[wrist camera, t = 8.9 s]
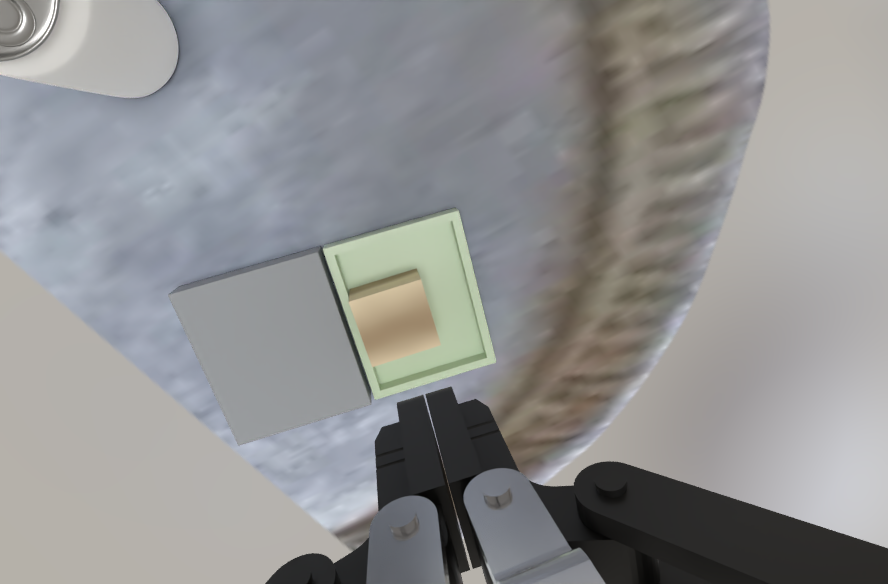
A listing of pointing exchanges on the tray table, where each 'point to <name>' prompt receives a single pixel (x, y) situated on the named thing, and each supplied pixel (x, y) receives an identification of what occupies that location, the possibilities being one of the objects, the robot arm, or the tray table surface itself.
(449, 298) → the box
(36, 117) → the tray table surface
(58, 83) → the can
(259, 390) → the plate
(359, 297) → the tan square block
